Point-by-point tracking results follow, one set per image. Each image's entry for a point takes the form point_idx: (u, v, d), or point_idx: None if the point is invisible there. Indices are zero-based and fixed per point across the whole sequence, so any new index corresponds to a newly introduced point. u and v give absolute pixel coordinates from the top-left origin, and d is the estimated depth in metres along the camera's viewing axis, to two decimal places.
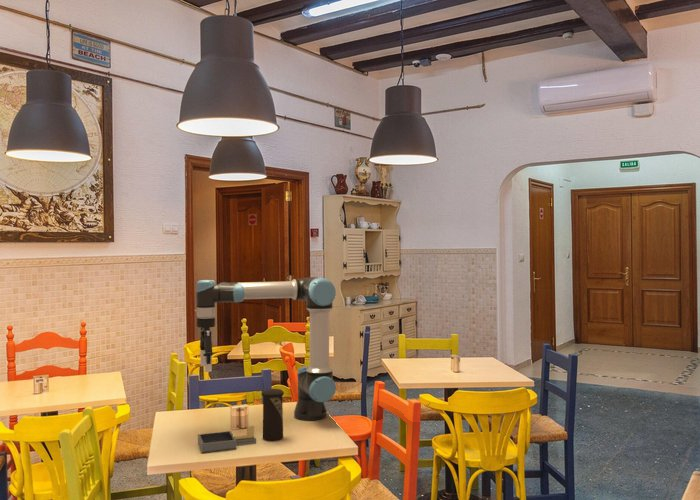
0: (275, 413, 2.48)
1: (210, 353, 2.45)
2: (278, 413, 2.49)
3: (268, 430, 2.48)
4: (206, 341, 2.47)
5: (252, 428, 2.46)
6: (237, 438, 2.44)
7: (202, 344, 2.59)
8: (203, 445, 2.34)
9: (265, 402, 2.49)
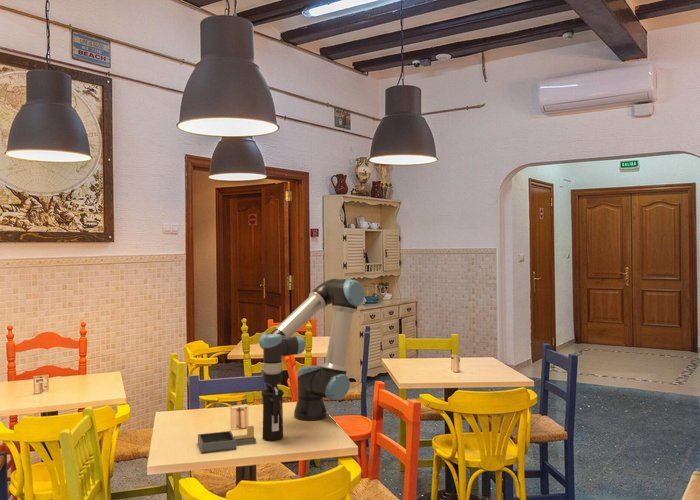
0: None
1: (278, 413, 2.45)
2: None
3: (268, 430, 2.48)
4: (274, 401, 2.45)
5: (252, 428, 2.46)
6: (237, 438, 2.44)
7: None
8: (203, 445, 2.34)
9: (265, 402, 2.49)
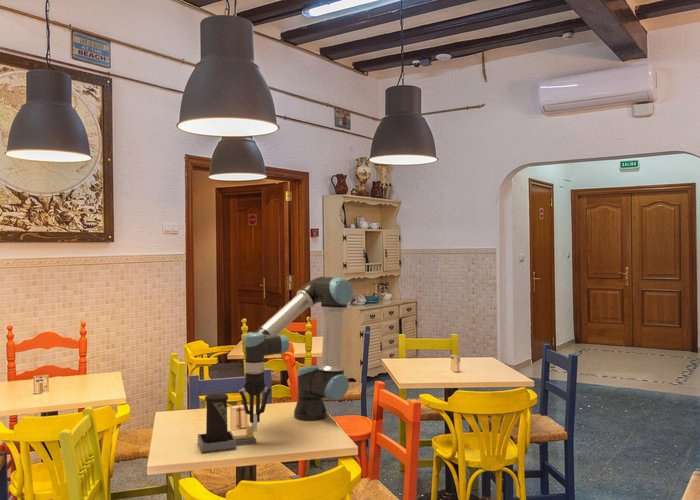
0: (218, 418, 2.38)
1: (246, 412, 2.45)
2: (221, 419, 2.39)
3: (211, 436, 2.38)
4: (242, 400, 2.46)
5: (251, 428, 2.46)
6: (236, 438, 2.44)
7: None
8: (203, 445, 2.34)
9: (208, 407, 2.39)
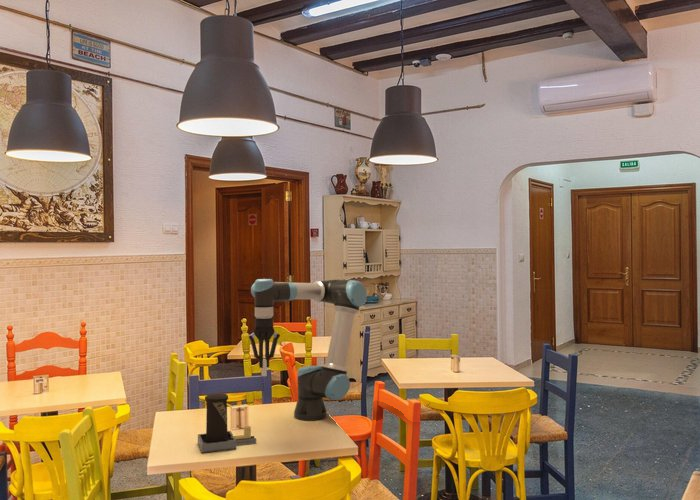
0: (218, 418, 2.38)
1: None
2: (221, 419, 2.39)
3: (211, 436, 2.38)
4: None
5: (249, 428, 2.45)
6: None
7: (265, 349, 2.49)
8: (203, 445, 2.34)
9: (208, 407, 2.39)
